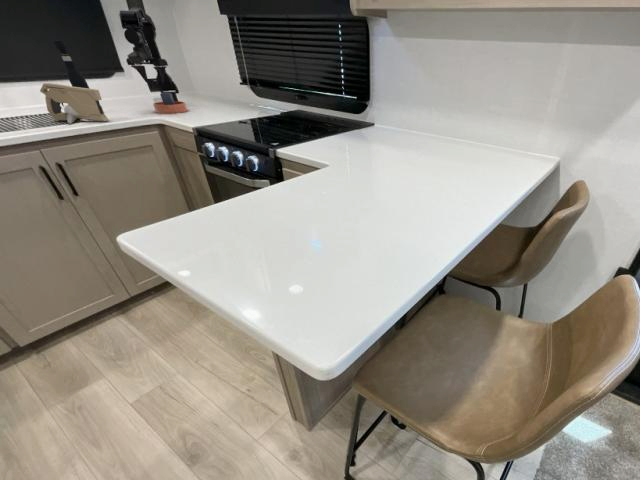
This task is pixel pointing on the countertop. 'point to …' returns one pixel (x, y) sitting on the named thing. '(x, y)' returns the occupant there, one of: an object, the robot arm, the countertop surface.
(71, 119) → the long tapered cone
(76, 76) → the wine bottle
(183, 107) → the bowl
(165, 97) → the block
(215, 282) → the countertop surface
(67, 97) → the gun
